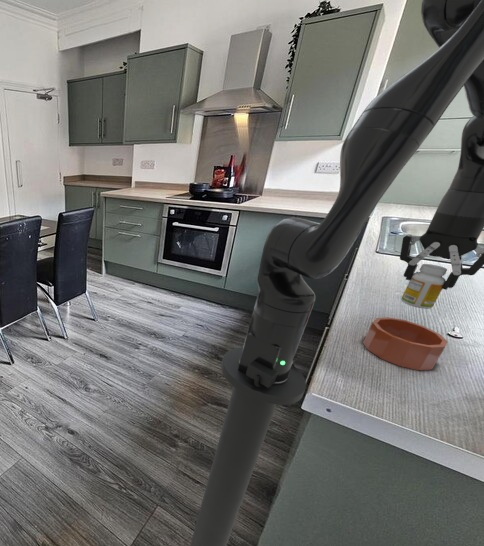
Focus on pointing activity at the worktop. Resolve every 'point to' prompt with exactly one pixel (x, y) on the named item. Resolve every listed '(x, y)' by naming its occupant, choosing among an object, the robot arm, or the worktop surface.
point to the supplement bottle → (425, 286)
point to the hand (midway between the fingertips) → (426, 283)
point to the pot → (404, 343)
